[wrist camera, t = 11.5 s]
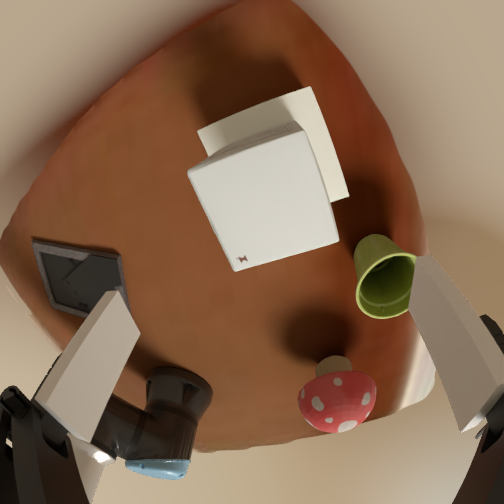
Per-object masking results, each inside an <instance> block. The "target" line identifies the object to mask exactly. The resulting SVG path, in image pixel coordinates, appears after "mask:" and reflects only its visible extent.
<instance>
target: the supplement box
mask: <svg viewBox="0 0 504 504" xmlns="http://www.w3.org/2000/svg"><path fill="white" fill-rule="evenodd" d="M187 173H188V177H189V179H190V181H191V183H192V186H193V188H194V190H195V192H196V194H197V196H198V198H199V200H200V202H201V204H202V206H203V209H204V211H205V213H206V215H207V217H208V219H209V221H210V224H211V226H212V228H213V230H214V232H215V233H216V235H217V237H218V240H219V242H220V244H221V246H222V248H223V250H224V252H225V254H226V256H227V258H228V260H229V262H230V264H231V266H232V269H233V270H234V271H235V272H236V271H239V270H243V269H246V268H249V267H253V266H256V265H260V264H263V263H267V262H270V261H274V260H278V259H281V258H285V257H288V256H292V255H295V254H299V253H302V252H306V251H309V250H313V249H316V248H319V247H323V246H326V245H330V244H333V243H336V242H338V241H339V235H338V231H337V227H336V223H335V219H334V215H333V211H332V207H331V204H330V200H329V197H328V193H327V190H326V187H325V183H324V180H323V177H322V174H321V171H320V168H319V165H318V163H317V160H316V157H315V154H314V152H313V149H312V147H311V144H310V141H309V139H308V136H307V134H306V132H305V130H304V129H303V128H302V127H301V126H300V125H299V124H298V123H297V122H296V121H295V120H293V121H290V122H287V123H284V124H281V125H278V126H275V127H272V128H270V129H267V130H264V131H261V132H258V133H256V134H253V135H250V136H248V137H245V138H242V139H240V140H237V141H235V142H233V143H230V144H228V145H226V146H225V147H223V148H221V149H219V150H218V151H216V152H215V153H213V154H212V155H211V156H209V157H208V158H206V159H205V160H203V161H202V162H200V163H199V164H197V165H196V166H194V167H192V168H190V169H189V170H188V171H187Z"/></svg>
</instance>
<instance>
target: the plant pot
mask: <svg viewBox="0 0 504 504" xmlns="http://www.w3.org/2000/svg"><path fill="white" fill-rule="evenodd" d="M416 257H417V256H415V255H413V254H411V253H408V252H404V251H403V250H402V249H401V248H399V247H398V246H397V245H396V244H395V243H394V242H392V241H391V240H390V239H389V238H388V237H386V236H384V235H379V234H372V235H369V236H366V237H365V238H363V239H362V240H361V241H360V242H359V243H358V244H357V246H356V249H355V252H354V263H355V268H356V273H357V279H358V284H357V287H356V301H357V304H358V306H359V308H360V309H361V310H362V311H363V312H364V313H365V314H367V315H368V316H370V317H373V318H378V319H385V318H391V317H395V316H398V315H400V314H402V313H404V312H406V311H407V310H408V306H409V300H410V295H411V289H412V283H413V276H414V269H415V262H416ZM382 262H383V265H381V266H380V267H378V268H376V266H377V265H379V264H381V263H382Z"/></svg>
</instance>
